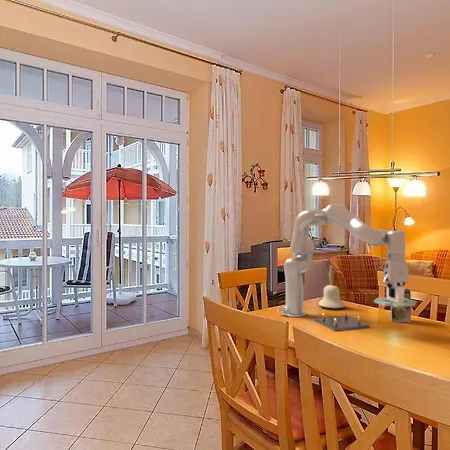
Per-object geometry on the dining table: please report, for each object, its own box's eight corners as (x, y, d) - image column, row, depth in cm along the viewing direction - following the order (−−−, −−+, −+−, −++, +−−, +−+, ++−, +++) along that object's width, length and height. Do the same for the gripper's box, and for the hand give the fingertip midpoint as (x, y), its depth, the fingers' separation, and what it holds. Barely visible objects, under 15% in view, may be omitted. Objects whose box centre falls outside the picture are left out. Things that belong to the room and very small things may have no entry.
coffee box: (409, 319, 197) (409, 288, 197) (411, 323, 191) (411, 291, 191) (390, 318, 200) (390, 287, 200) (391, 321, 194) (391, 290, 194)
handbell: (331, 311, 215) (331, 267, 215) (312, 306, 229) (312, 264, 228) (350, 308, 223) (350, 265, 222) (331, 303, 236) (331, 263, 235)
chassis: (334, 331, 179) (334, 321, 179) (314, 320, 198) (314, 311, 198) (369, 327, 184) (369, 317, 184) (346, 317, 203) (346, 308, 203)
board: (389, 307, 167) (390, 289, 167) (369, 300, 181) (369, 283, 180) (421, 305, 172) (422, 287, 171) (399, 298, 185) (400, 282, 185)
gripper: (386, 258, 169) (385, 299, 170) (416, 257, 174) (415, 297, 175) (375, 256, 177) (374, 296, 177) (404, 255, 181) (404, 294, 182)
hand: (395, 296), depth 176 cm, fingers closed on board, 3 cm apart
